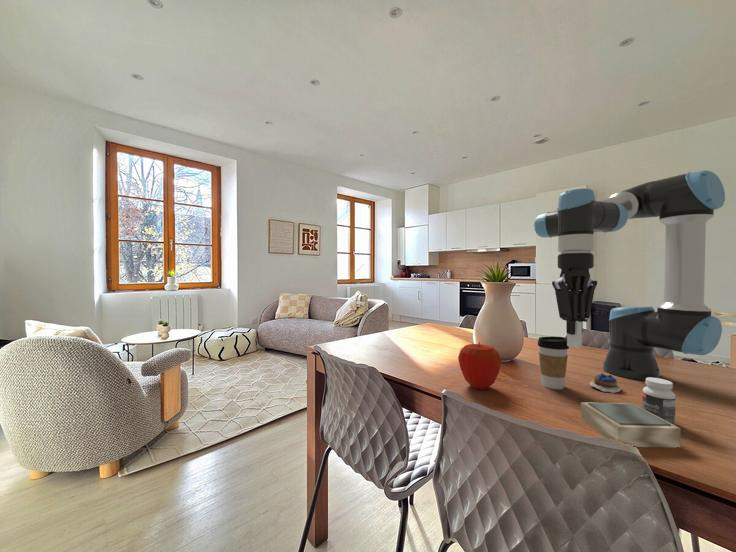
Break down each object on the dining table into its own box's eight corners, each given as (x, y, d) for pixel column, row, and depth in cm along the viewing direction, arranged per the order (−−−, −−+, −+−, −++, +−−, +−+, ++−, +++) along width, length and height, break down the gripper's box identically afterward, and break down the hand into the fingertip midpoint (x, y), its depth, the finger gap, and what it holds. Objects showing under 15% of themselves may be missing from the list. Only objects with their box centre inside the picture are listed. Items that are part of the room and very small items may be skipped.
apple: (506, 386, 96) (507, 341, 96) (491, 398, 88) (491, 348, 87) (468, 377, 105) (468, 335, 105) (451, 387, 96) (451, 341, 96)
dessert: (602, 378, 100) (614, 368, 96) (618, 398, 95) (631, 388, 91) (581, 381, 98) (592, 370, 94) (596, 401, 93) (608, 391, 89)
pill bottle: (635, 417, 76) (635, 376, 76) (657, 416, 77) (657, 376, 77) (659, 429, 70) (659, 385, 70) (682, 428, 71) (683, 384, 71)
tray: (632, 419, 75) (632, 402, 75) (680, 448, 63) (680, 426, 63) (580, 418, 75) (580, 401, 75) (618, 446, 63) (618, 425, 63)
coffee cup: (573, 392, 92) (574, 341, 92) (542, 390, 94) (542, 340, 94) (562, 382, 100) (562, 335, 100) (533, 380, 102) (533, 334, 102)
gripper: (579, 254, 84) (578, 342, 84) (542, 253, 80) (541, 345, 80) (609, 252, 77) (608, 348, 77) (570, 251, 73) (569, 352, 73)
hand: (574, 347), depth 79 cm, fingers closed
